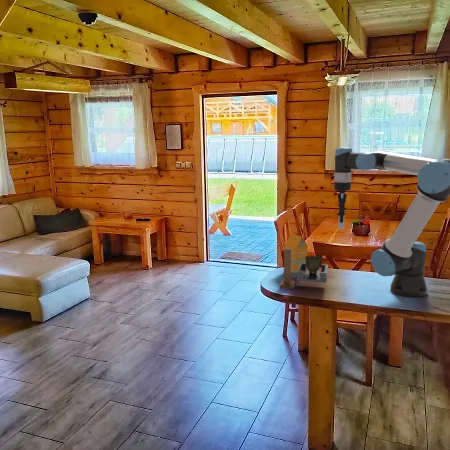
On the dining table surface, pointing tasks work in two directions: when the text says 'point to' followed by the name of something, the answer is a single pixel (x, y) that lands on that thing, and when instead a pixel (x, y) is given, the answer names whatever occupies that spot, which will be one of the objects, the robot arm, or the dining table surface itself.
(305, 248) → the orange juice
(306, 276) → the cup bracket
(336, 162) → the robot arm
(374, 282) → the dining table surface
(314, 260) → the cup
